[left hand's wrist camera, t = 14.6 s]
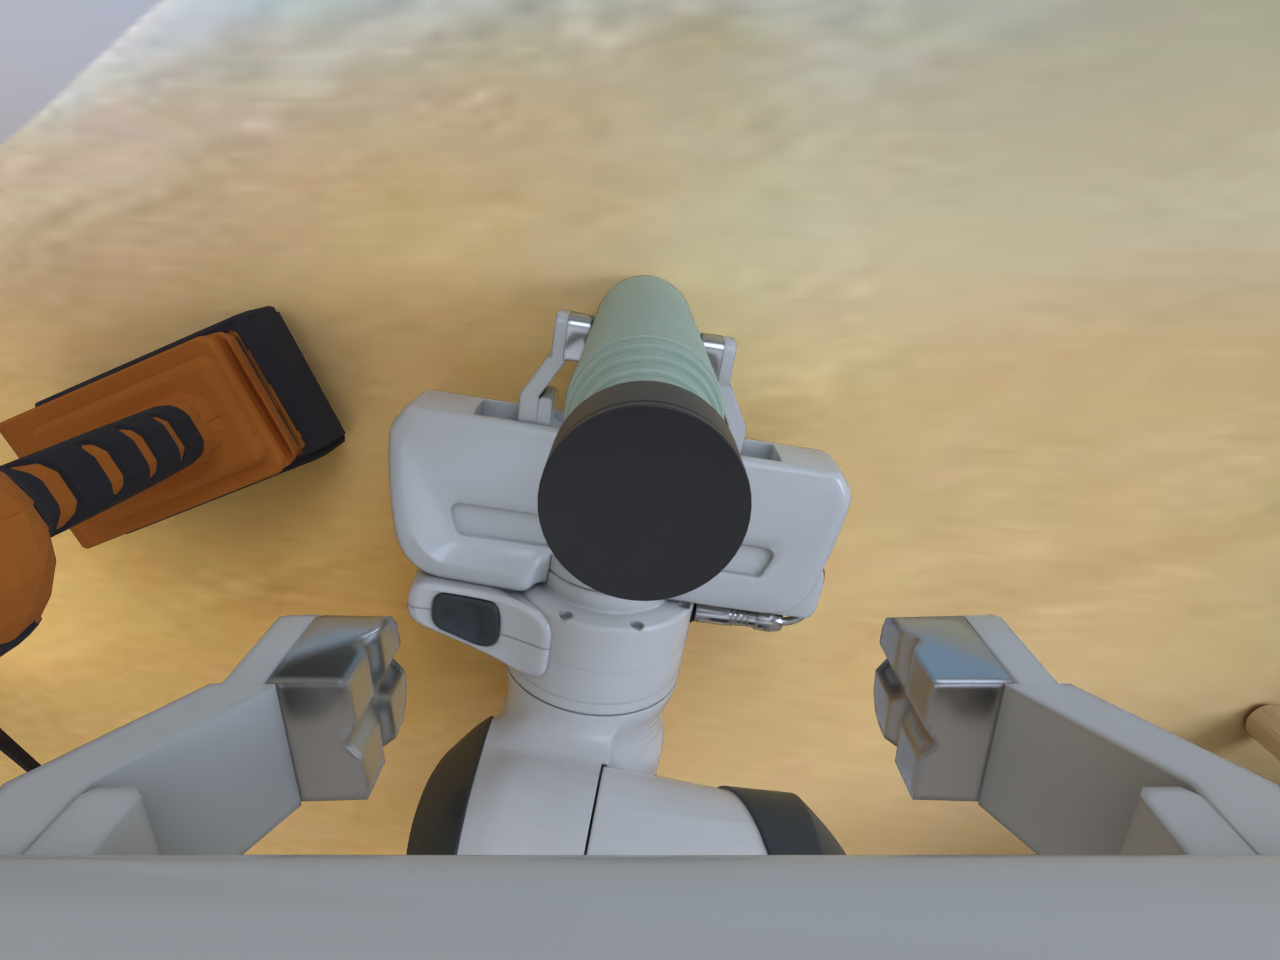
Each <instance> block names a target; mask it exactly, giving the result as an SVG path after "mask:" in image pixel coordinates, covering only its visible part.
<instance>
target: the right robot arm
mask: <svg viewBox="0 0 1280 960" xmlns="http://www.w3.org/2000/svg"><path fill="white" fill-rule="evenodd" d="M592 324H593V315H589V314H584V313H578V312H573V311H567V310H559V311H558V313H557V317H556V321H555V328H554V336H553V345H552V351H551V352H550V353H549V355H548V356H547V357H546V358H545V360H544V361H543V362H542V364H541V365H540V366H539V368H538V369H537V370H536V372H535V373H534V374H533V375H532V377H531V378H530V379H529V381H528V382H527V384H526V385H525V387H524V389H523V390H522V392H521V393H520V402H519V403H514V402H507V401H501V400H495V399H488V398H482V397H475V396H469V395H462V394H456V393H449V392H443V391H437V390H428V391H425V392H423V393H421V394H420V395H419V396H417V397H416V398H415V399H413V400H412V401H411V402H409V403H408V404H407V405H406V406H405V407H404V408H403V409H402V410H401V411H400V412H399V413H398V414H397V416H396V417H395V419H394V420H393V423H392V425H391V429H390V434H389V480H390V495H391V505H392V513H393V521H394V528H395V533H396V536H397V540H398V543H399V545H400V547H401V549H402V551H403V553H404V554H405V556H406V557H407V558H408V560H409V561H410V562H411V563H412V564H413V565H415V566H416V567H417V568H418V569H417V571H416V573H415V576H414V578H413V581H412V584H411V587H410V591H409V595H408V612H409V615H410V616H411V618H412V619H413V620H414V621H416V622H417V623H418V624H420V625H422V626H424V627H426V628H429V629H431V630H433V631H436V632H438V633H441V634H443V635H446V636H448V637H450V638H453V639H455V640H458V641H460V642H462V643H464V644H467V645H469V646H471V647H473V648H475V649H477V650H480V651H482V652H484V653H486V654H488V655H490V656H492V657H494V658H496V659H497V660H499V661H501V662H503V663H505V667H506V672H507V677H508V692H507V694H506V696H505V698H504V700H503V702H502V704H501V707H500V710H499V714H498V717H493V716H491V717H489V718H487V719H486V720H484V721H483V722H481V723H480V724H479V725H477V726H476V727H475V728H474V729H472V730H471V731H470V732H469V733H468V734H467V735H466V736H465V737H463V738H462V739H461V740H460V741H459V742H458V743H457V744H456V745H455V746H454V747H453V748H451V749H450V750H449V751H448V752H447V753H446V754H445V756H444V757H443V758H442V759H441V761H440V762H439V763H438V765H437V766H436V768H435V769H434V771H433V773H432V774H431V776H430V778H429V780H428V782H427V784H426V786H425V789H424V791H423V794H422V796H421V799H420V801H419V804H418V807H417V810H416V813H415V816H414V820H413V823H412V828H411V832H410V837H409V842H408V848H407V854H406V855H846V854H845V852H844V850H843V849H842V848H841V846H840V845H839V843H838V842H837V840H836V839H835V838H834V836H833V835H832V834H831V832H830V831H829V830H828V829H827V827H826V826H825V825H824V824H823V823H822V822H821V820H820V819H819V818H818V817H817V816H816V815H815V813H814V812H813V811H812V810H811V809H810V808H809V807H808V806H807V805H806V804H805V803H804V802H803V801H802V800H801V799H800V798H799V797H798V796H797V795H795V794H793V793H789V792H779V791H769V790H759V789H749V788H740V787H731V786H719V787H717V788H715V787H710V786H705V785H700V784H695V783H690V782H685V781H680V780H675V779H670V778H665V777H660V776H656V774H657V770H658V765H659V761H660V757H661V753H662V747H663V741H664V729H663V721H662V711H663V709H664V707H665V705H666V704H667V702H668V701H669V699H670V697H671V695H672V693H673V691H674V689H675V686H676V683H677V678H678V674H679V670H680V665H681V661H682V656H683V651H684V647H685V642H686V638H687V633H688V627H689V623H691V621H695V622H702V623H709V624H716V625H731V626H733V625H735V626H746V627H752V628H753V629H755V630H760V631H768V632H771V631H780V630H781V628H782V626H784V625H791V624H795V623H797V622H800V621H802V620H803V619H805V618H808V617H810V616H811V615H812V614H813V612H814V611H815V609H816V607H817V604H818V600H819V597H820V593H821V590H822V587H823V583H824V577H825V571H824V566H825V564H826V562H827V560H828V558H829V556H830V554H831V552H832V549H833V547H834V545H835V543H836V540H837V538H838V535H839V533H840V530H841V528H842V525H843V522H844V520H845V517H846V514H847V511H848V508H849V505H850V501H851V490H850V486H849V484H848V482H847V480H846V478H845V476H844V474H843V472H842V471H841V469H840V468H839V466H838V465H837V464H836V462H835V461H834V460H833V459H832V457H831V456H830V455H829V454H828V453H826V452H824V451H822V450H817V449H810V448H804V447H797V446H791V445H784V444H778V443H771V442H765V441H759V440H752V439H746V438H744V436H745V432H746V427H745V424H744V421H743V418H742V415H741V413H740V410H739V407H738V404H737V401H736V398H735V395H734V392H733V389H732V386H731V384H730V378H731V373H732V369H733V364H734V359H735V354H736V341H735V339H734V338H733V337H726V336H720V335H714V334H707V333H700V337H701V339H702V342H703V345H704V347H705V350H706V352H707V355H708V357H709V360H710V362H711V365H712V368H713V370H714V373H715V375H716V378H717V380H718V383H719V386H720V389H721V392H722V396H723V402H724V421H725V423H726V424H727V425H728V427H729V429H730V431H731V433H732V435H733V437H734V439H735V442H736V445H737V448H738V450H739V453H740V456H741V459H742V461H743V464H744V467H745V470H746V473H747V476H748V479H749V483H750V488H751V496H752V509H751V518H750V523H749V526H748V530H747V533H746V536H745V538H744V540H743V543H742V545H741V546H740V548H739V550H738V551H737V553H736V555H735V556H734V557H733V559H732V560H731V561H730V563H729V564H728V565H727V566H726V567H725V568H724V569H723V570H722V571H721V572H720V573H719V574H718V575H717V576H715V577H714V578H713V579H711V580H710V581H709V582H707V583H706V584H704V585H702V586H701V587H699V588H697V589H695V590H693V591H690V592H688V593H686V594H683V595H680V596H677V597H673V598H669V599H663V600H656V601H632V600H626V599H620V598H616V597H613V596H609V595H606V594H603V593H601V592H599V591H596V590H594V589H592V588H590V587H589V586H587V585H585V584H583V583H582V582H581V581H579V580H578V579H576V578H575V577H574V576H572V575H571V574H570V573H569V572H568V571H567V570H566V569H565V568H564V567H563V566H562V565H561V563H560V562H559V561H558V560H557V559H556V557H555V556H554V554H553V553H552V551H551V550H550V548H549V546H548V544H547V542H546V540H545V538H544V535H543V532H542V529H541V526H540V522H539V516H538V490H539V483H540V480H541V477H542V473H543V470H544V467H545V464H546V462H547V459H548V456H549V453H550V450H551V448H552V445H553V442H554V440H555V437H556V435H557V433H558V431H559V429H560V427H561V426H562V424H563V423H564V413H565V410H559V409H556V400H557V391H558V389H557V388H556V387H555V386H549V385H548V384H549V383H550V381H551V380H552V379H553V377H554V376H555V375H556V373H557V372H558V371H559V369H560V368H561V367H562V366H563V364H564V363H565V362H566V360H571V361H579V358H580V356H581V353H582V351H583V348H584V345H585V343H586V340H587V337H588V335H589V332H590V330H591V327H592ZM547 385H548V386H547ZM783 615H786V616H789V617H783Z"/></svg>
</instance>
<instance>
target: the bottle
mask: <svg viewBox="0 0 1280 960" xmlns="http://www.w3.org/2000/svg"><path fill="white" fill-rule="evenodd" d="M643 380H644V381H658V382H664V383H669V384H672V385H676V386H679V387H682V388H684V389H686V390H688V391H690V392H692V393H694V394H696V395H697V396H699V397H700V398H702V399H704V400H705V401H706V402H707V403H708V404H710V405H711V406H712V407H713V408H714V409H715V410H716V411H717V412H718V413H719V414H720V416H721V417H722V418H723V420H724V402H723V396H722V392H721V389H720V386H719V383H718V380H717V378H716V375H715V373H714V370H713V368H712V365H711V362H710V360H709V357H708V355H707V352H706V350H705V347H704V345H703V342H702V339H701V337H700V334H699V332H698V329H697V327H696V324H695V321H694V319H693V316H692V314H691V311H690V309H689V306H688V304H687V302H686V300H685V298H684V297H683V295H682V294H681V293H680V292H679V290H678V289H677V288H675V287H674V286H673V285H672V284H670V283H669V282H667V281H665V280H663V279H660V278H657V277H653V276H635V277H630V278H628V279H625V280H623V281H621V282H619V283H618V284H616V285H615V286H614V287H613V288H611V289H610V290H609V291H608V293H607V294H606V295H605V297H604V298H603V300H602V302H601V304H600V306H599V309H598V311H597V314H596V316H595V319H594V322H593V324H592V327H591V330H590V332H589V335H588V337H587V340H586V343H585V345H584V348H583V351H582V353H581V356H580V358H579V361H578V364H577V366H576V369H575V371H574V374H573V377H572V379H571V382H570V385H569V388H568V391H567V394H566V400H565V413H564V421H565V419H566V418H567V417H568V416H569V415H570V413H571V412H572V411H573V410H574V409H575V408H576V407H577V406H578V405H579V404H581V403H582V402H583V401H584V400H586V399H587V398H589V397H590V396H592V395H593V394H595V393H597V392H599V391H601V390H603V389H605V388H608V387H610V386H613V385H616V384H620V383H625V382H630V381H643Z"/></svg>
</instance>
